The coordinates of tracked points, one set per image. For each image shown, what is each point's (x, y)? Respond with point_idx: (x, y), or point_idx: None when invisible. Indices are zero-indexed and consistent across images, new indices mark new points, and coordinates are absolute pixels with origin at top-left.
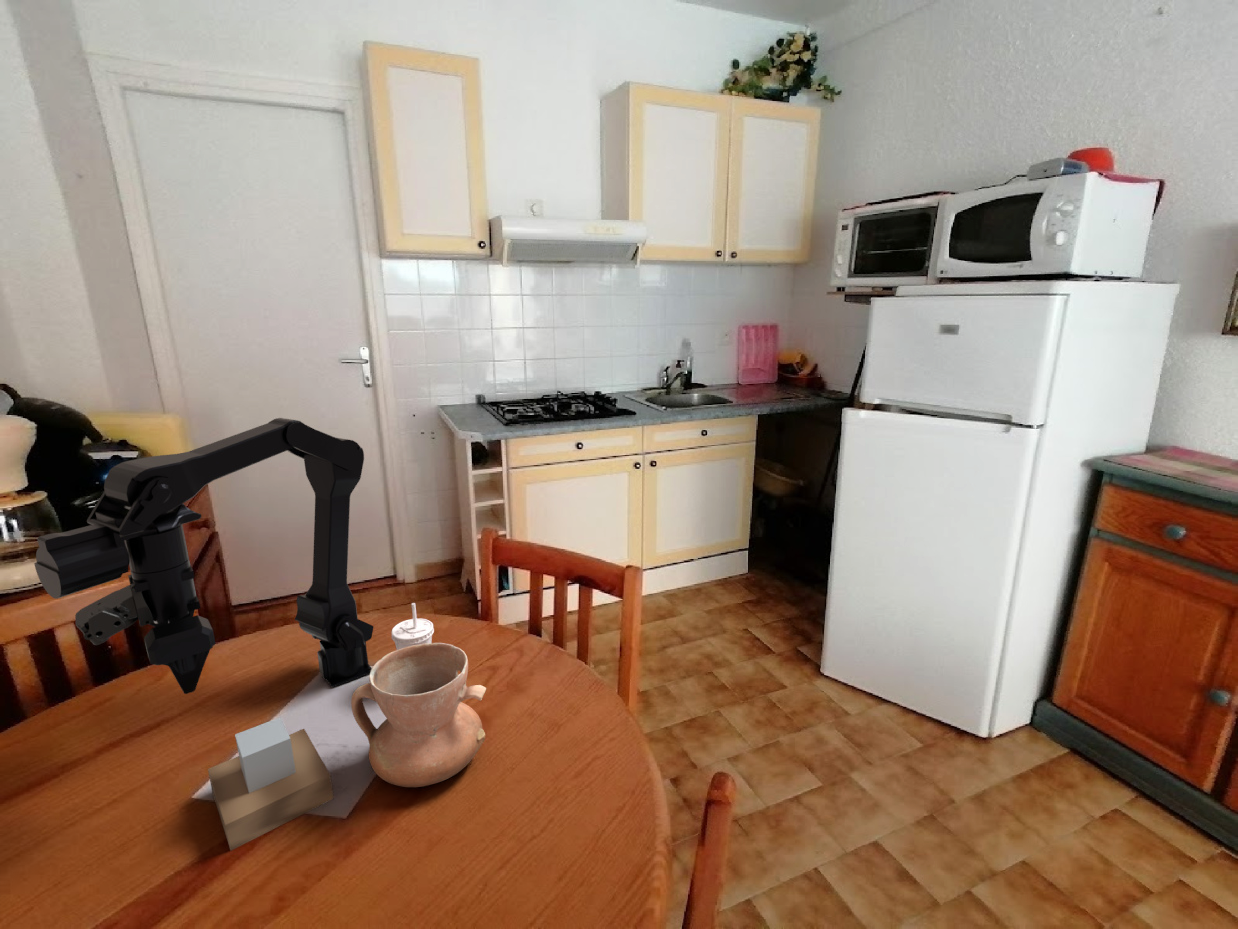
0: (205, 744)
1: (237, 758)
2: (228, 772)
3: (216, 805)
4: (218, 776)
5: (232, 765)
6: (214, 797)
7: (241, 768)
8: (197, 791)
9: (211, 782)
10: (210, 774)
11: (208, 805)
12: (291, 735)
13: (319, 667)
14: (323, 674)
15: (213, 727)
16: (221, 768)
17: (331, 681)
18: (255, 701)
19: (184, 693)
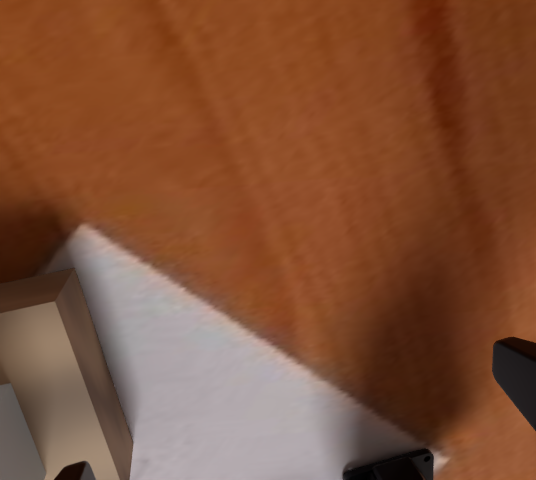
0: (290, 237)
1: (67, 369)
2: (8, 354)
3: (14, 281)
4: (1, 331)
5: (39, 360)
6: (28, 282)
7: (3, 387)
8: (100, 234)
9: (5, 306)
10: (23, 310)
11: (26, 262)
12: (110, 477)
13: (415, 470)
14: (382, 478)
15: (351, 249)
16: (38, 335)
17: (361, 477)
18: (398, 329)
19: (60, 471)
